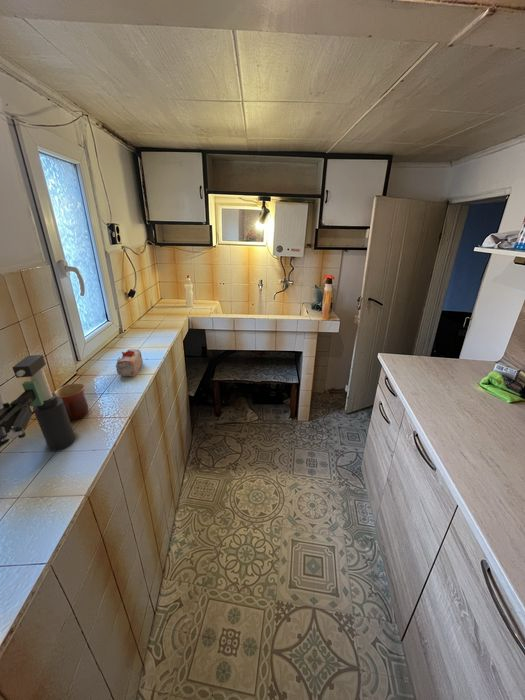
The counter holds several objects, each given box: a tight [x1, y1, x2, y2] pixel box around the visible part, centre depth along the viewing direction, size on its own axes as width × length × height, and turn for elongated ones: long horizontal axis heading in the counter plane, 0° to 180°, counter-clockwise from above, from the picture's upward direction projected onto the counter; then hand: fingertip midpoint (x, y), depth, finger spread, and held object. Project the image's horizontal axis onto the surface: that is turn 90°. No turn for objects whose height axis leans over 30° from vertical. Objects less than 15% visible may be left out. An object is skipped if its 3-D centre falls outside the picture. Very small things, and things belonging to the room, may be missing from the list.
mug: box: [53, 382, 89, 421], centre depth 97 cm, size 12×9×10 cm
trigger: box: [21, 380, 44, 408], centre depth 74 cm, size 1×3×7 cm, turn 102°
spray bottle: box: [12, 354, 76, 451], centre depth 79 cm, size 10×7×28 cm
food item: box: [115, 348, 144, 377], centre depth 126 cm, size 14×8×10 cm, turn 6°
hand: (31, 394), depth 73 cm, fingers closed
